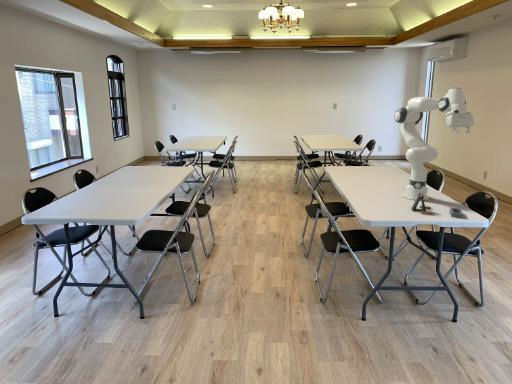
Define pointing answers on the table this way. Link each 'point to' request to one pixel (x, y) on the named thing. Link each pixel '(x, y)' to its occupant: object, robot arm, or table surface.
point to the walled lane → (426, 212)
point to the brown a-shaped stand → (418, 202)
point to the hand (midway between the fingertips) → (462, 133)
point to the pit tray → (456, 213)
